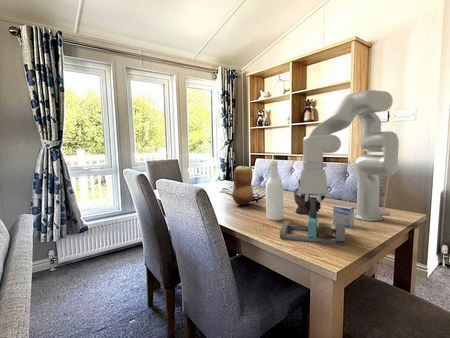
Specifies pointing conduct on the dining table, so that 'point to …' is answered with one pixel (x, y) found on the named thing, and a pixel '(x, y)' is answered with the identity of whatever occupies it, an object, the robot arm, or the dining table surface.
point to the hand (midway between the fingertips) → (312, 210)
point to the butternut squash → (242, 185)
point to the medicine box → (344, 214)
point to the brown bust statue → (300, 202)
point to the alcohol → (274, 194)
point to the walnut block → (324, 230)
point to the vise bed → (338, 231)
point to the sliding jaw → (312, 217)
